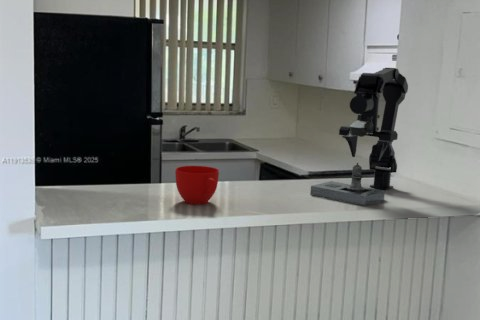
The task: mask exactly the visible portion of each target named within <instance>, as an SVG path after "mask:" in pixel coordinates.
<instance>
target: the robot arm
mask: <svg viewBox="0 0 480 320" xmlns="http://www.w3.org/2000/svg"><path fill="white" fill-rule="evenodd" d="M408 90H409V84H408V81H407V77H405V75H402V73H400V71H399V69H398V68H396V67H384V68H382V69H381V70H378V71H375V72H373V73H372V72H362V73H361V74H360V76H359V77H358V80H357V82H356V86H355V89H354V91H353V94H355V95H356V96H353V98H352V99H350V102H349V108H350V110H351V112H352V113H354V114H356V115H357V119H356V120H355V121H353V123H351V124H350V125H348V124H347V125H342V126H340V127H339V129H338V135H339V136H341V137H342V139H343V138H344V139H345V140H346V141H347V144H348V147H349V149H350V153H351V157H352V158H355V157H356V153H357V144H358V137H360V138H361V137H365V136H368V137H375V138H378V140H377V142H376V143H375V144H373V145H372V147H371V153H369V157H368V161H369V162H368V163H369V165H368V166H369V170H370V171H371V170H372V171H374V175H373V177H374V178H373V184H371V185H369V188H373V189H378V190H384V191H386V190H390V189H393V188H394V185H391V176H392V174H393V173H397V170H398V162H397V160H396V156H395V155H396V153H395V149H394V147H393V145H392V143H393V142H394V141H397V140H398V132H397V131H396V130H395V127H396V122H397V121H396V120H397V115H398V113H399V112H398V111H399V106H400V105H401V104H402V102H403V101H404V100H405V97H406V94H407V93H408ZM381 93H382V96H383V97H382V98H383V99H384V101H385V104H384V110H383V114H382V121H381V125H380V126H381V127H380V128H379V127H378V119H380V117H381V115H380V114H379V106H380V105H379V103H380V98H381ZM379 129H380V131H379Z"/></svg>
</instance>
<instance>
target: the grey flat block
mask: <svg viewBox="0 0 480 320" xmlns="http://www.w3.org/2000/svg"><path fill="white" fill-rule="evenodd" d="M350 185H351V184H348V183H343V182H339V181H333V180H331V181H326V182H322V183H318V184H313V185H310V196H315V197H319V198H324V199H329V200H334V201H340V202H344V203H349V204H353V205H354V204H355V205H359V206H363V207H365V206H368V205H372V204H375V203H378V202H382V201H384V200H385V190H384V189H378V188H373V187H365V186H362V187H363V188H365V190H364V192H363V193H361V194H360V193H355V192H350V191H347V187H349V186H350Z"/></svg>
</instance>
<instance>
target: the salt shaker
mask: <svg viewBox="0 0 480 320" xmlns="http://www.w3.org/2000/svg"><path fill="white" fill-rule="evenodd" d="M362 169H363V168H362V166H361V165H359V162H357V163H356V165H353V167H352V173H351V174H352V175H351V176H350V177H351V182H350V183H351V184H350V186H349V187H347V191H350V192H355V193H360V194H361V193H363V192H364V190H365V188H363V187H364V186H362V178H363V176H362Z"/></svg>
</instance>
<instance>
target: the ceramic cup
mask: <svg viewBox="0 0 480 320" xmlns="http://www.w3.org/2000/svg"><path fill="white" fill-rule="evenodd" d="M219 174H220V171H219V169H218V168H216V167H211V166H205V165H185V166H184V165H183V166H177V167H176V168H175V184H176V189H177V191H178V194H179V196H180V197H181V199H182V200H183V201H184V202H185V203H186V204H188V203H189V204H188V205H195V204H200V205H205V203H206V204H208V201H210V200H211V199H212V198H213V196H214V194H215V193H216V190H217V187H218V183H219Z"/></svg>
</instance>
